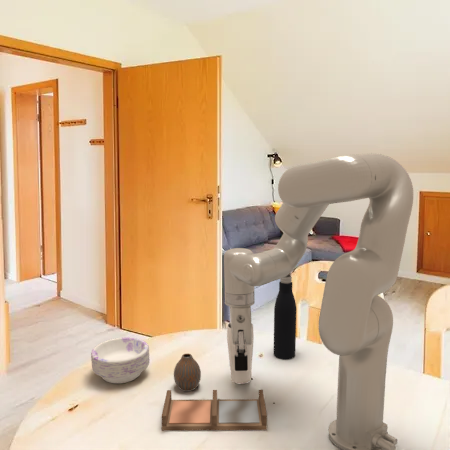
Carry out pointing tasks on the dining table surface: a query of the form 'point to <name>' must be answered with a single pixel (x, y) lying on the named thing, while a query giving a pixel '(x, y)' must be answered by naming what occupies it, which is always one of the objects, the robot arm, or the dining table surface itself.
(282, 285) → the wine bottle
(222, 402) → the slot rack
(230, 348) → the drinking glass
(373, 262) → the robot arm
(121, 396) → the dining table surface
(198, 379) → the vase
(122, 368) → the paper bowls
